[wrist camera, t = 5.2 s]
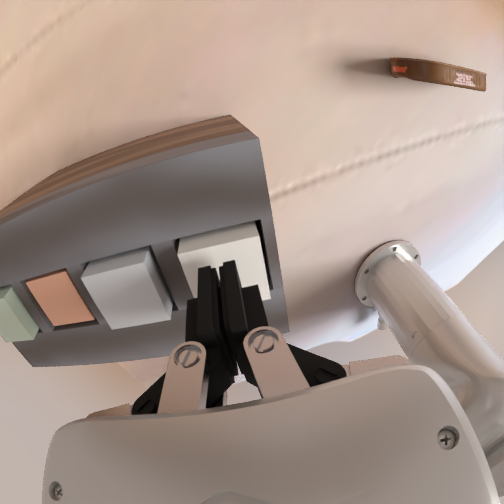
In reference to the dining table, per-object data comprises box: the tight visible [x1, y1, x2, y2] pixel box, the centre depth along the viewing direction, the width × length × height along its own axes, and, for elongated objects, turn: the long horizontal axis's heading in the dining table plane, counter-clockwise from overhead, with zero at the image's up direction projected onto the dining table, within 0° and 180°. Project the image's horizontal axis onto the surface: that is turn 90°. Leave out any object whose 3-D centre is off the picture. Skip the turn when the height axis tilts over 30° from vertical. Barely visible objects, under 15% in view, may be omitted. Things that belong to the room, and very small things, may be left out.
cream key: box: [177, 221, 271, 301], centre depth 15 cm, size 4×4×2 cm
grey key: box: [81, 245, 173, 330], centre depth 15 cm, size 4×4×2 cm
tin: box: [389, 58, 486, 91], centre depth 23 cm, size 15×3×8 cm, turn 101°
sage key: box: [0, 284, 39, 342], centre depth 14 cm, size 4×4×2 cm
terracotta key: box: [26, 268, 95, 326], centre depth 15 cm, size 4×4×2 cm
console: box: [0, 115, 289, 367], centre depth 22 cm, size 12×22×19 cm, turn 100°
